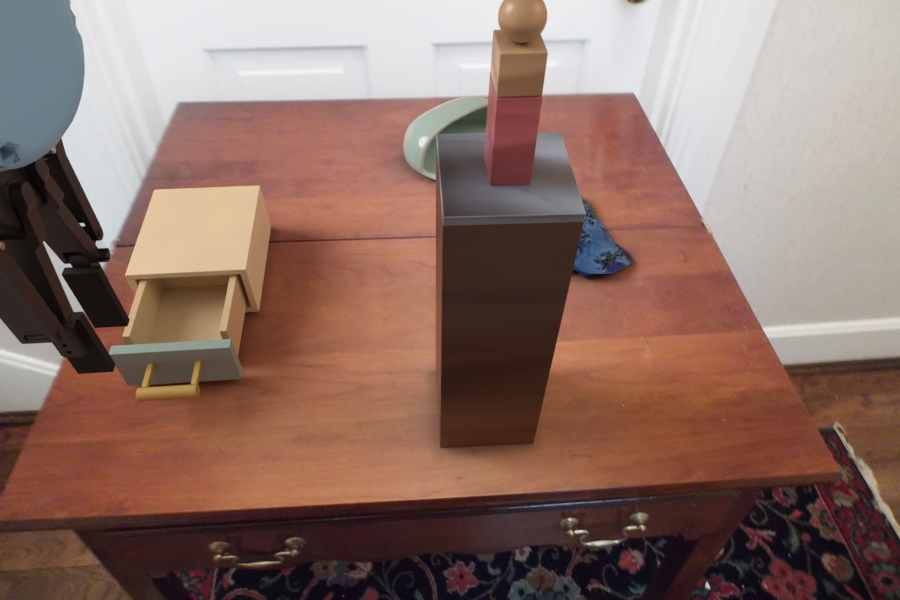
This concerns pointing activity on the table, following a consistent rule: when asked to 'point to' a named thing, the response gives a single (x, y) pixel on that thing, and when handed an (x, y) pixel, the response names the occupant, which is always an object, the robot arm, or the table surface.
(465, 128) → the planter
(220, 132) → the table surface
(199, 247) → the cabinet
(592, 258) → the rock
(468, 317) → the stand
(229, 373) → the drawer
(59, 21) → the robot arm
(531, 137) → the doll
